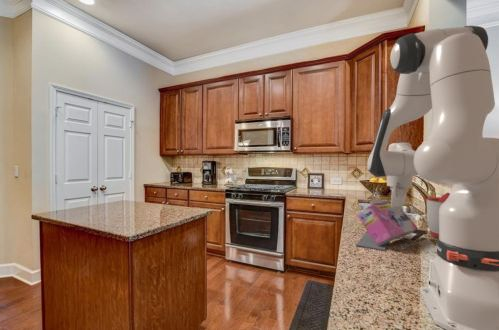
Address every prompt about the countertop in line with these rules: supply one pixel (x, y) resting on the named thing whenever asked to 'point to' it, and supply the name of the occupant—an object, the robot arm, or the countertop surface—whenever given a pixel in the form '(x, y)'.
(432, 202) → the citrus juicer
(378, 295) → the countertop surface
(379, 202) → the pillar candle
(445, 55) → the robot arm
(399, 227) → the gum box
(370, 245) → the mat
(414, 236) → the chocolate bar
